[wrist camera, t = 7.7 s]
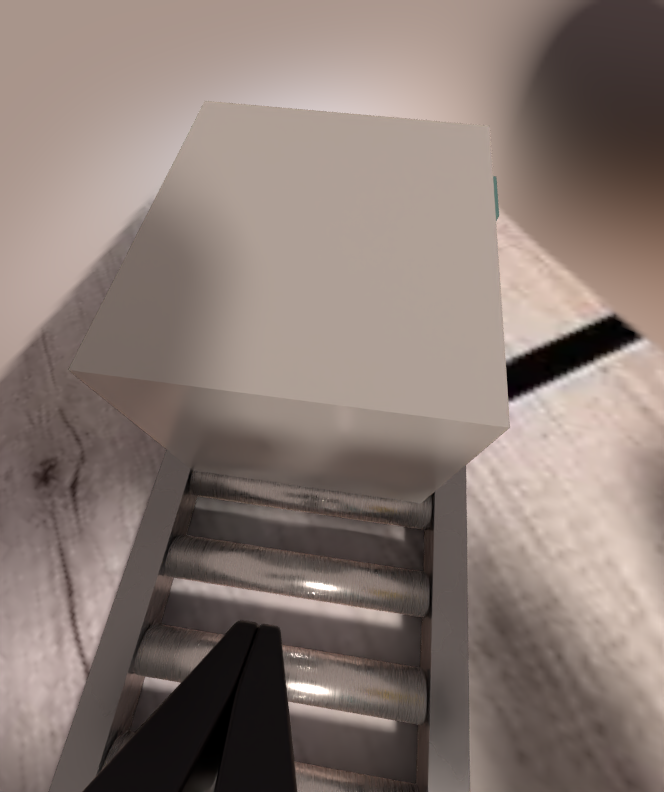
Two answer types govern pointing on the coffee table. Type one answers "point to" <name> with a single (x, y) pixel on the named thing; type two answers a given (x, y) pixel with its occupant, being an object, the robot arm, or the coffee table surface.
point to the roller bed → (304, 668)
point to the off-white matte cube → (313, 303)
